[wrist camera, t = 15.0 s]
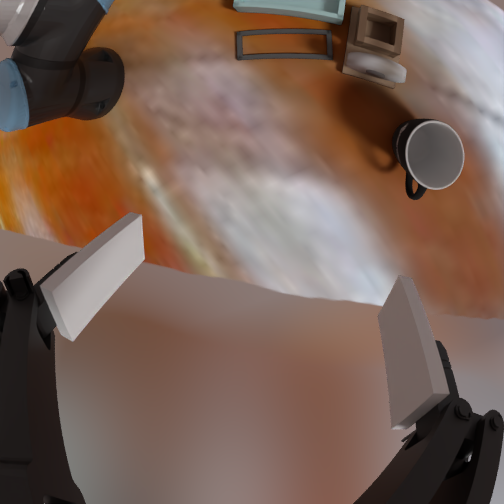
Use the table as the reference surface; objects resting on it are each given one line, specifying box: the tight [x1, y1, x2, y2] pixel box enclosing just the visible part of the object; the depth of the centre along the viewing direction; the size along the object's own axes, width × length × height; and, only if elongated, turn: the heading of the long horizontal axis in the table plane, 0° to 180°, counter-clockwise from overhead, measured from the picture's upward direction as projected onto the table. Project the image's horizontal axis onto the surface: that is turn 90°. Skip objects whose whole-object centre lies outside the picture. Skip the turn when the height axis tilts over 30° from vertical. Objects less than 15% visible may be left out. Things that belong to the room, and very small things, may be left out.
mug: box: [392, 119, 464, 200], centre depth 31 cm, size 12×9×10 cm
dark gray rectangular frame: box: [237, 29, 333, 60], centre depth 31 cm, size 14×5×1 cm, turn 92°
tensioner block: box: [342, 5, 406, 89], centre depth 24 cm, size 8×12×9 cm, turn 172°
